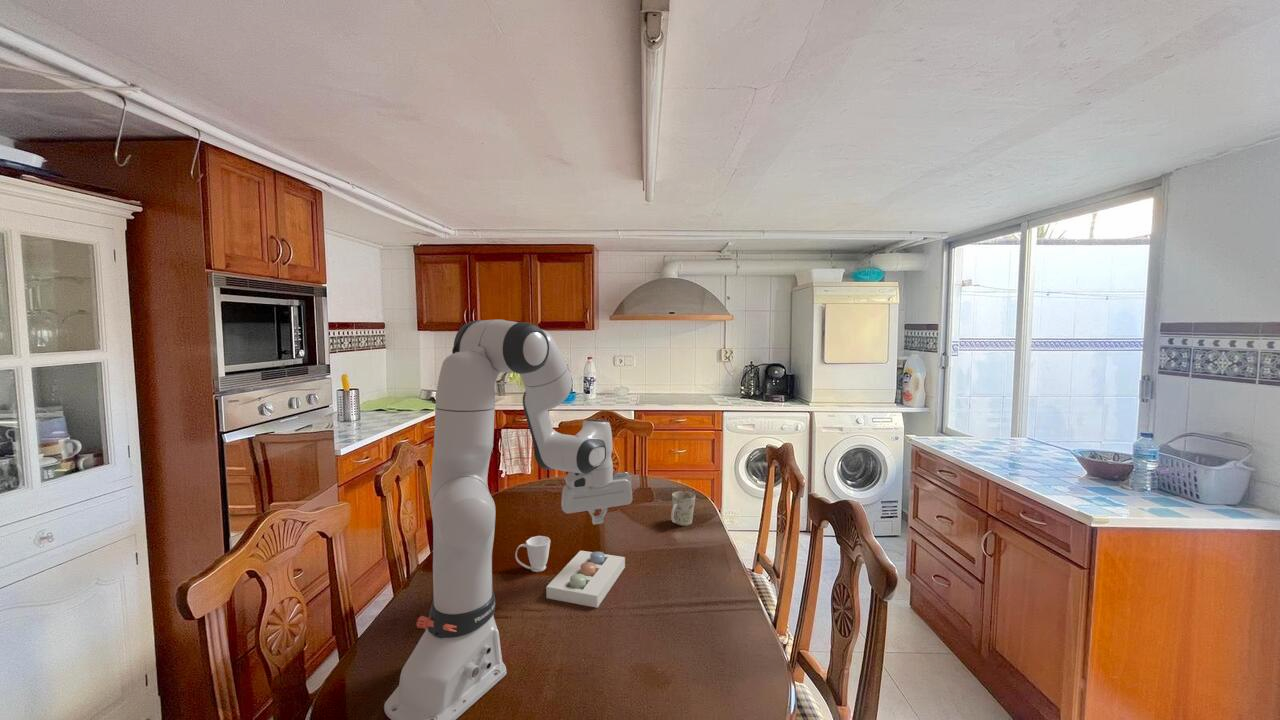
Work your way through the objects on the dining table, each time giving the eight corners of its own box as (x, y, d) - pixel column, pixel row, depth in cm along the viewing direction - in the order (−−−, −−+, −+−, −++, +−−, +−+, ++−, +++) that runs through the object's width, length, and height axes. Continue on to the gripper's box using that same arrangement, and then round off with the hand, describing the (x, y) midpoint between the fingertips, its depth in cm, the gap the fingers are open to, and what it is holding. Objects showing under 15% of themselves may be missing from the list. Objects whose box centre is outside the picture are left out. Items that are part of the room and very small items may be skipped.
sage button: (581, 594, 117) (581, 582, 117) (567, 591, 119) (567, 580, 118) (588, 586, 121) (588, 575, 121) (574, 583, 122) (574, 572, 122)
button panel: (597, 607, 114) (597, 596, 114) (546, 598, 118) (546, 586, 118) (624, 567, 134) (624, 557, 134) (580, 560, 138) (580, 550, 138)
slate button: (601, 569, 130) (601, 559, 130) (588, 567, 131) (587, 556, 131) (606, 562, 134) (606, 552, 133) (593, 560, 135) (593, 550, 135)
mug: (699, 520, 167) (699, 493, 167) (683, 533, 157) (683, 504, 156) (678, 516, 172) (678, 489, 171) (661, 527, 161) (661, 499, 161)
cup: (549, 574, 130) (548, 546, 130) (512, 575, 130) (512, 546, 129) (552, 561, 137) (552, 535, 137) (518, 562, 137) (517, 535, 136)
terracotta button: (592, 581, 124) (592, 570, 123) (578, 578, 125) (578, 568, 125) (597, 573, 127) (597, 563, 127) (584, 571, 129) (584, 561, 128)
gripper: (627, 468, 138) (628, 513, 138) (559, 476, 130) (560, 524, 131) (635, 474, 132) (635, 521, 133) (564, 483, 124) (565, 533, 125)
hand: (597, 523), depth 132 cm, fingers closed
